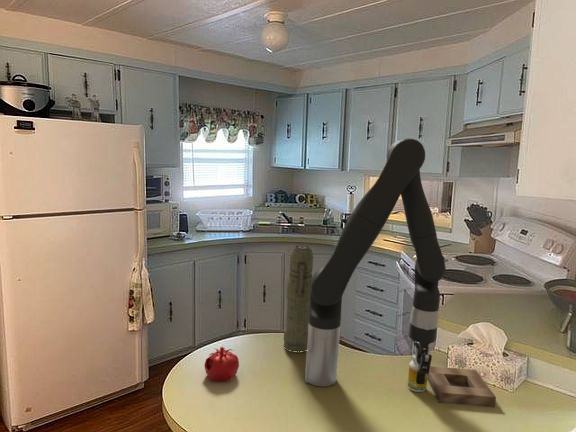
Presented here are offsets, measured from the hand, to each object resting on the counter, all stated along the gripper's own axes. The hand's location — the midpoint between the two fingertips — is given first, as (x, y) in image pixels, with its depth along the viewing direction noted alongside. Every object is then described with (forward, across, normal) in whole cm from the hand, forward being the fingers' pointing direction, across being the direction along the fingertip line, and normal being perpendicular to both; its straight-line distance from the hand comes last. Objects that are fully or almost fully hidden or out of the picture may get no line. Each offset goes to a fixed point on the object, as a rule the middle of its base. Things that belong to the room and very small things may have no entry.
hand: (417, 378), depth 126 cm
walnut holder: (+3, -1, +12) cm, 13 cm away
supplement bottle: (+3, 0, 0) cm, 3 cm away
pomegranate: (+4, +2, -57) cm, 57 cm away
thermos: (+4, -21, -36) cm, 42 cm away
